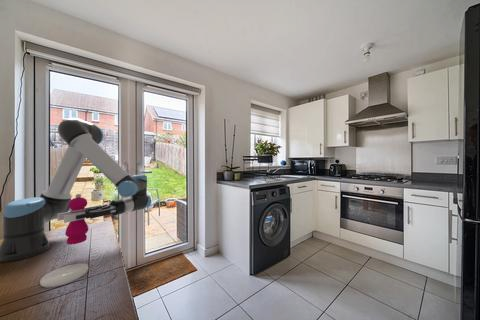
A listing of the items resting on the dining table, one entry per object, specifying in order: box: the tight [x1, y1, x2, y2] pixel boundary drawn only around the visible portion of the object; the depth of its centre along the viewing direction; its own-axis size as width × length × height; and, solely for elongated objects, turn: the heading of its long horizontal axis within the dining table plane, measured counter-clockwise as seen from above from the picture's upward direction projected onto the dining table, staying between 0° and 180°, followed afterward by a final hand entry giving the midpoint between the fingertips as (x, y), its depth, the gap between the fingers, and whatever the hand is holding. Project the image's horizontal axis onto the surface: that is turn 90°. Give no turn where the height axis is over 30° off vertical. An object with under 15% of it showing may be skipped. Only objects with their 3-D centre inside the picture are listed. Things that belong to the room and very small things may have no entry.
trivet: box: [39, 263, 89, 289], centre depth 63 cm, size 12×12×1 cm
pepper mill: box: [65, 193, 89, 245], centre depth 76 cm, size 7×7×20 cm
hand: (61, 218), depth 72 cm, fingers closed on pepper mill, 5 cm apart
